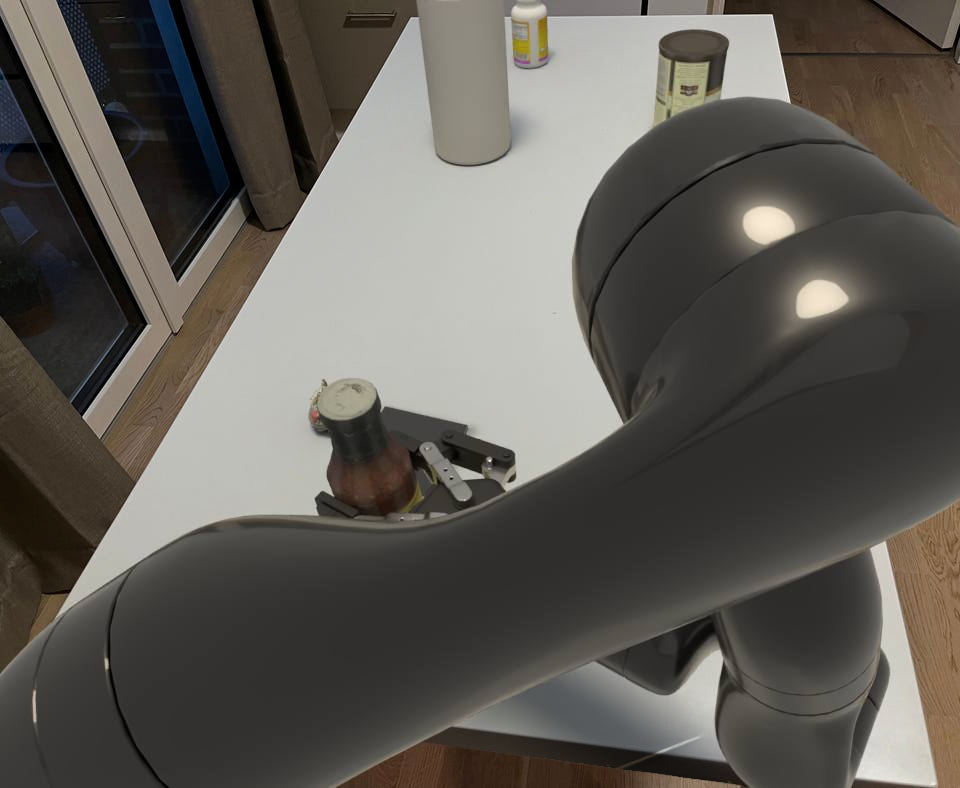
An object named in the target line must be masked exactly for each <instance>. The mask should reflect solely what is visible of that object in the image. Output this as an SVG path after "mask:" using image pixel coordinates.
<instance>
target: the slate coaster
mask: <svg viewBox="0 0 960 788" xmlns="http://www.w3.org/2000/svg"><path fill="white" fill-rule="evenodd" d="M380 412H381V416H382V420H383V424H384V425H385V427H386V429H387V431H388V432H390V431H391V430H394V431H400V432H402V433H404V434H406V435H408V436H410V437H412V438H415V439H417V440H419V441H421V442H423V443H425V442H432V443H433V442H435V441H437V440H439V439H440V438H441V434H442V433H443V432H444V431H446V430H454V431H457V432H460V433H463V434H466V433H467V431H468V429H469V424H465V423H461V422H456V421H452V420H448V419H442V418H439V417H434V416H430V415H426V414H421V413H417V412H413V411H407V410H404V409H399V408H396V407H391V406H386V405H385V406H384V407H383V408H382V409H381V411H380ZM414 471H415V470H414ZM415 473H416V476H417V480H418V483H419V487H420V490H421V494H422V497H424V496H425V494H426V492H427V490H428V489H429V488H430V487H431V486H432V483H431V482H430V480H429V479H428V477H427V476H426V474H425V473H424V470H423V469H422V468H421V469H420V470H419V471H418V472H417V471H415Z"/></svg>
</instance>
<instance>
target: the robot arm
mask: <svg viewBox="0 0 960 788" xmlns="http://www.w3.org/2000/svg"><path fill="white" fill-rule="evenodd" d="M571 280H572V281H571V283H572V284H571V285H572V286H571V287H572V289H571V290H572V291H571V292H572V293H571V294H572V298H573V304H574V309H575V314H576V318H577V323H578V325H579V329H580V332H581V335H582V338H583V341H584V344H585V346H586V349H587V351H588V352H589V356H590V357H591V360H592V362H593V364H594V366H595V368H596V370H597V372H598V375H599V376H600V378H601V380H602V382H603V384H604V386H605V388H606V391H607V392H608V395H609V397H610V399H611V401H612V404H613V405H614V407H615V409H616V412H617V414H618V416H619V418H620V420H621V422H622V425H621V426H619V427H618V428H617V429H615V430H614V431H613V432H612V433H610V434H609V435H607V436H605V437H604V438H603V439H600V440H599V441H598V442H597V443H595V444H593V445H591V447H589V448H587V449H586V450H584V451H583V452H581V453H579V454H578V455H575V456H574V457H572V458H571V459H568V460H567V461H565V462H564V463H561V464H560V465H558V466H556V467H554V468H553V469H551V470H548V471H546V472H544V473H542V474H540V475H538V476H535V477H534V478H532V479H530V480H528V481H526V482H524V483H521V484H520V485H517V486H515V487H513V488H511V489H509V490H506V489H505V486H506V485H507V484H511V483H513V482H515V481H516V479H517V465H516V464H517V463H516V453H515V451H514V450H513V449H510V448H507V447H504V446H502V445H498V444H496V443H493V442H489V441H486V440H484V439H480V438H477V437H474V436H471V435H469V434H466V433H465V434H463V433H460V432H457V431H454V430H446V431H444V432H443V433H442V434H441V438H440V439H439V440H437V441H435V442H433V443H432V442H425V443H423V442H421V441H419V440H417V439H415V438H412V437H410V436H408V435H406V434H404V433H402V432H400V431H394V430H391V431H390V432H388V431H387V433H388V434H390V435H391V436H392V437H393V438H394V439H395V440H396V441H397V442H398V443H399V444H400V445H401V446H402V447H404V448H405V449H407V450H408V451H409V456H410V459H411V463H412V467H413V469H414V470H415V471H417V472H418V471H419V470H420V469H421V468H422V469H423V470H424V473H425V474H426V476H427V477H428V479H429V480H430V482H431V483H432V486H431V487H430V488H429V489H428V490H427V492H426V494H425V496H423V497H422V498H423V500H421V501H420V502H419V503H417V504H416V505H414V506H413V507H412V508H411V510H410V511H409V512H408V513H393V512H391V513H388V514H387V515H386V516H365V515H361V514H360V511H359V510H358V509H356V508H354V507H352V506H350V505H348V504H347V503H345V502H343V501H341V500H339V499H337V498H335V497H334V495H333V494H330V493H329V492H326V491H324V490H321V491H320V492H319V493H318V494H316V496H315V497H314V502H315V505H316V506H315V509H316V512H317V514H318V515H313V514H312V515H311V514H250V515H241V516H234V517H228V518H224V519H221V520H218V521H215V522H212V523H209V524H205V525H203V526H200V527H197V528H195V529H192V530H190V531H188V532H186V533H184V534H182V535H180V536H178V537H176V538H175V539H173V540H171V541H170V542H168V543H166V544H164V545H163V546H161V547H159V548H158V549H156V550H155V551H153V552H151V553H150V554H148V555H147V556H145V557H144V558H142V559H141V560H139V561H138V562H136V563H134V564H133V565H131V566H130V567H129V568H127V569H125V570H124V571H122V572H121V573H120V574H118V575H116V576H115V577H113V578H112V579H110V580H109V581H108V582H106V583H105V584H103V585H102V586H100V587H98V588H97V589H95V590H94V591H92V592H91V593H89V594H88V595H86V596H85V597H84V598H82V599H80V600H79V601H77V602H76V603H75V604H73V605H72V606H71V607H70V608H68V609H66V610H65V611H64V612H62V613H61V614H60V615H58V616H57V617H56V618H55V619H53V620H52V621H51V622H50V623H48V624H47V625H46V626H45V627H44V628H43V629H42V630H41V631H40V632H38V633H37V634H36V635H35V636H34V637H33V639H31V641H29V643H28V644H27V645H25V646H24V648H23V649H22V650H20V652H19V653H18V654H17V655H16V656H15V657H14V658H13V659H12V660H11V661H10V662H9V663H8V665H6V667H5V668H4V669H3V670H2V671H1V672H0V788H337V787H339V786H341V785H342V784H345V783H347V782H348V781H350V780H351V779H353V778H356V777H357V776H359V775H361V774H362V773H364V772H366V771H368V770H370V769H371V768H373V767H375V766H377V765H379V764H381V763H383V762H385V761H387V760H389V759H391V758H393V757H394V756H397V755H398V754H401V753H402V752H405V751H407V750H408V749H411V748H412V747H414V746H416V745H418V744H420V743H422V742H424V741H426V740H428V739H430V738H432V737H434V736H436V735H438V734H440V733H442V732H444V731H446V730H448V729H450V728H451V727H454V726H455V725H457V724H460V723H462V722H463V721H465V720H467V719H469V718H471V717H474V716H476V715H477V714H480V713H481V712H484V711H486V710H487V709H490V708H492V707H494V706H496V705H498V704H501V703H502V702H505V701H507V700H509V699H511V698H513V697H515V696H517V695H519V694H522V693H523V692H526V691H528V690H530V689H533V688H535V687H538V686H540V685H542V684H544V683H546V682H548V681H549V682H550V680H553V679H555V678H558V677H561V676H563V675H564V674H568V673H570V672H572V671H575V670H577V669H579V668H582V667H584V666H587V665H589V664H591V663H596V664H598V665H600V666H602V667H604V668H606V669H607V670H609V671H611V672H612V673H614V674H617V675H618V676H620V677H622V678H624V679H625V680H627V681H628V682H630V683H632V684H634V685H636V686H638V687H640V688H641V689H643V690H645V691H648V692H650V693H652V694H655V695H658V696H663V697H665V696H666V697H667V696H671V695H673V694H675V693H677V692H678V691H679V690H680V689H682V688H683V686H684V685H685V684H686V683H687V682H688V681H689V680H690V678H691V677H692V676H693V674H694V673H695V672H696V671H697V670H698V668H699V667H700V665H701V664H702V663H703V662H704V661H705V660H706V659H707V658H708V657H710V655H712V654H713V653H715V652H717V651H720V653H721V657H722V665H721V670H720V675H719V679H718V683H717V693H716V699H715V708H714V731H715V736H716V741H717V744H718V746H719V749H720V751H721V753H722V755H723V757H724V759H725V760H726V763H728V765H729V766H730V767H731V769H732V771H733V772H734V773H735V774H736V776H737V777H738V778H739V779H740V780H741V781H742V782H743V783H744V784H745V785H746V786H748V787H749V788H852V786H853V783H854V781H855V779H856V776H857V773H858V771H859V768H860V765H861V763H862V759H863V757H864V754H865V751H866V749H867V745H868V742H869V740H870V737H871V734H872V732H873V728H874V725H875V722H876V720H877V718H878V714H879V712H880V710H881V708H882V705H883V701H884V700H885V696H886V693H887V690H888V688H889V683H890V678H891V668H890V667H891V666H890V663H889V660H888V658H887V655H886V653H885V651H884V650H883V649H882V646H881V645H882V637H883V624H884V615H883V614H884V613H883V597H882V590H881V585H880V581H879V577H878V572H877V569H876V565H875V561H874V557H873V554H872V550H871V549H872V548H875V547H876V546H877V545H880V544H882V543H885V542H886V541H888V540H891V539H893V538H894V537H896V536H898V535H901V534H903V533H904V532H906V531H908V530H910V529H912V528H914V527H917V526H918V525H919V524H921V523H924V522H925V521H927V520H929V519H930V518H932V517H935V516H936V515H938V514H939V513H941V512H943V511H945V510H947V509H948V508H949V507H951V506H953V505H954V504H955V503H957V502H958V501H960V226H959V225H957V224H956V223H955V222H954V221H953V220H951V218H949V216H947V215H946V214H944V213H943V212H942V211H941V210H940V209H939V208H937V206H936V205H935V204H933V203H932V202H931V201H929V200H928V199H927V198H926V197H925V196H924V195H923V194H921V192H919V191H918V190H917V189H916V188H915V187H913V186H912V185H911V184H910V183H908V181H907V180H905V179H904V178H903V177H901V176H900V175H899V174H898V173H897V172H896V171H895V170H894V169H893V168H892V167H891V166H889V164H888V163H886V162H885V160H883V159H882V158H881V157H880V156H879V155H878V154H877V153H876V152H875V151H874V150H872V148H870V147H868V146H867V145H866V144H864V143H863V142H862V141H860V140H859V139H857V138H856V137H855V136H853V135H851V134H850V133H848V132H847V131H846V130H844V129H842V128H840V127H839V126H838V125H836V124H835V123H834V122H832V121H830V120H829V119H827V118H825V117H823V116H822V115H820V114H818V113H816V112H815V111H812V110H810V109H807V108H804V107H802V106H799V105H796V104H793V103H791V102H787V101H786V100H785V101H784V100H782V99H778V98H769V97H759V96H738V97H731V98H730V97H729V98H723V99H722V98H721V99H720V100H714V101H711V102H708V103H705V104H702V105H699V106H696V107H693V108H690V109H687V110H684V111H682V112H680V113H678V114H676V115H674V116H672V117H670V118H668V119H666V120H665V121H663V122H661V123H660V124H658V125H656V126H655V127H653V126H652V128H651V129H649V130H648V131H647V132H646V133H644V134H643V135H641V137H640V138H638V139H637V140H636V141H635V142H632V144H630V145H629V146H628V147H627V148H626V149H625V151H623V153H621V155H620V156H619V157H618V158H617V159H616V160H615V162H613V164H612V165H610V167H609V168H608V169H607V170H606V172H605V173H604V175H603V176H602V178H601V179H600V181H599V183H598V184H597V186H596V188H595V189H594V191H593V192H592V194H591V195H590V197H589V199H588V201H587V203H586V206H585V208H584V211H583V214H582V216H581V219H580V221H579V225H578V226H577V229H576V233H575V240H574V245H573V251H572V257H571ZM453 465H455V466H457V467H459V468H462V469H465V470H468V471H471V472H474V473H477V474H480V475H482V477H483V478H471V479H469V478H468V479H462V477H461V476H460V474H459V473H458V472H457V470H456V469H455V467H454V466H453Z"/></svg>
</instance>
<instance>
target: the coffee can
mask: <svg viewBox="0 0 960 788" xmlns="http://www.w3.org/2000/svg"><path fill="white" fill-rule="evenodd" d="M729 46H730V40H729V38H728V37H726V36H725V34H722V33H720V32H717V31H713V30H708V29H700V28H699V29H694V28H693V29H692V28H691V29H681V30H676V31H672V32H669V33H667V34H665V35H664V36H662V37H660V38H659V41H658V59H657V61H658V62H657V74H656V89H655V101H654V113H653V125H652V128H653V127H655V126H656V125H658V124H660V123H661V122H663V121H665V120H666V119H668V118H670V117H672V116H674V115H676V114H678V113H680V112H682V111H684V110H687V109H690V108H693V107H696V106H699V105H702V104H705V103H708V102H711V101H714V100H721V99H722V91H723V83H724V76H725V69H726V63H727V55H728V50H729Z"/></svg>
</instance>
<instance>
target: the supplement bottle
mask: <svg viewBox="0 0 960 788" xmlns="http://www.w3.org/2000/svg"><path fill="white" fill-rule="evenodd" d="M515 2H516V4H515V5H514V6H513V7H512V8H511V11H510V20H511V37H512V39H511V40H512V56H513V57H512V58H513V63H514V64H515V65H516V66H517V67H519V68H522V69H535V68H539V67H542V66H544V65H545V64H546V63H547V62H548V61H549V38H548V37H549V36H548V8H547V7H546V5H545V4H543V2H541V0H515Z"/></svg>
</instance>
